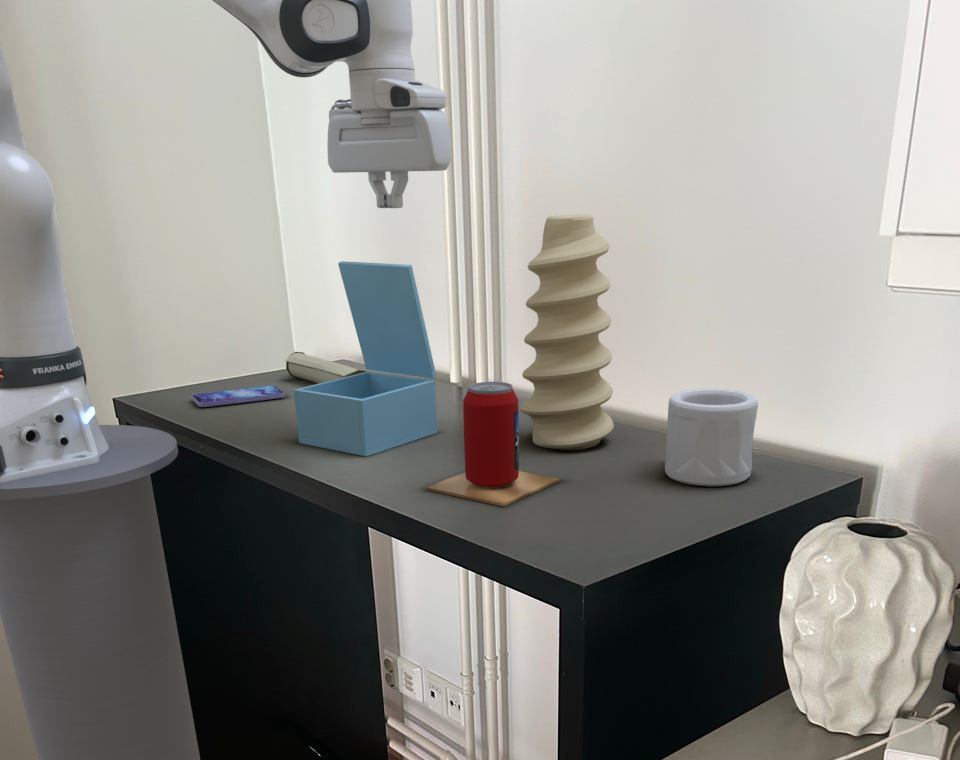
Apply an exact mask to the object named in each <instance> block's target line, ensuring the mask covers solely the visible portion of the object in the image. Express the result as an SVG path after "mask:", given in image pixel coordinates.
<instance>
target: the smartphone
mask: <svg viewBox="0 0 960 760" xmlns="http://www.w3.org/2000/svg"><path fill="white" fill-rule="evenodd" d="M284 397H285V392H284V391H283V390H282V389H280V388H279V387H277V386H276V385H274V384H273V385H270V384H269V385H261V386H253V387H244V388H233V389H227V390H218V391H210V392H200V393H194V394H192V395H191V400H192V401H193V402H194V403H195V405H197V406H198V407H200V408H208V407H216V406H224V405H225V406H226V405H234V404H240V403H241V404H242V403H250V402H251V403H252V402H259V401H266V400H274V399H275V400H276V399H282V398H284Z"/></svg>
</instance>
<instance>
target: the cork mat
mask: <svg viewBox="0 0 960 760" xmlns="http://www.w3.org/2000/svg"><path fill="white" fill-rule="evenodd" d="M560 481H561V478H557V477H552V476H547V475H542V474H537V473H532V472H526V471H521V470H519V476H518V478H517V479H516V480H515V481H513V482H512V483H511V484H510V485H508V486H505V487H500V488H482V487H478V486H475V485H474V484H473V483H471V482H470V481H468V480H467V479H466V476H465V471H464V472H462V473H459V474H457V475H454V476H451V477H449V478H446V479H444V480H441V481H438V482H436V483H433V484H431V485H429V486H426V491H429V492H434V493H439V494H444V495H448V496H453V497H457V498H462V499H467V500H471V501H475V502H479V503H485V504H489V505H494V506H499V507H503V508H504V507H507V506H509V505H510V504H514V503H515V502H518V501H519V500H522V499H524V498H526V497H528V496H531V495H533V494H535V493H537V492H540V491H542V490H544V489H546V488H549V487H551V486H553V485H555V484H557V483H561V482H560Z"/></svg>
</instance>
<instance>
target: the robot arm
mask: <svg viewBox="0 0 960 760" xmlns="http://www.w3.org/2000/svg"><path fill="white" fill-rule="evenodd" d="M212 1H213V2H214V3H215V4H216V5H218V6H219V7H221V9H223V10H224V11H226V12H227V13H229V14H230V15H231V16H233V17H234V18H235V19H236V20H237V21H239V22H241V24H243V25H244V26H246V27H247V29H249V31H251V33H252V34H253V35H254V36H255V38H257V40H258V41H259V43H260V45H262V48H263V49H264V50H265V52H266V54H267V55H268V56H269V58H270V59H271V60H272V62H273V63H274V64H275V65H276V66H277V67H278V68H279V69H280V70H281V71H283V72H284V73H286V74H288V75H290V76H292V77H296V78H311V77H315V76H317V75H319V74H321V73H323V72H324V71H325V70H326V69H327V68H328V67H330V66H332V65H333V64H334V63H336V62H338V63H339V62H341V63H345V64H346V65H347V68H348V69H347V70H348V79H349V81H348V82H349V91H350V92H349V94H350V98H349V99H337V100H335V102H334V104H333V105H332V106H331V107H330V109H329V111H328V121H329V122H328V126H327V144H326V145H327V164H328V167H329V168H330V170H331V172H332V173H336V174H338V173H339V174H341V173H367V174H368V183H369V184H370V185H369V186H371V189H372V190H373V192H374V194H375V197H376V207H377V208H378V209H402V208H403V206H404V197H403V195H404V194H405V190H406V187H407V185H408V182H409V172H441V171H447V169H448V168H449V166H450V163H451V161H452V141H451V132H450V131H451V130H450V123H449V118H448V116H447V114H446V113H445V111H443V110H442V109H445V108H446V106H447V93H446V92H445V91H444V90H443V89H442V88H441V89H440V88H438V87H435V86H432V85H429V84H427V83H425V82H422V81H420V80H417V79H416V68H415V64H414V59H413V55H412V40H413V35H414V25H413V9H412V3H411V2H412V0H212ZM16 101H17V100H16V96H15V90H14V83H13V80H12V77H11V74H10V70H9V67H8V64H7V60H6V57H5V54H4V51H3V47H2V44H1V43H0V483H3V482H8V481H13V480H18V479H23V478H27V477H32V476H37V475H42V474H47V473H52V472H56V471H61V470H66V469H71V468H76V467H81V466H85V465H90V464H95V463H97V462H99V461H100V456H101V455H102V454H104V453H105V452H107V451H108V449H109V445H108V443H107V442H106V440H105V438H104V436H103V434H102V432H101V429H100V427H99V425H100V424H99V422H98V420H97V418H96V417H97V416H96V411H95V407H94V406H93V405H92V403H91V400H90V399H91V398H90V396H89V393H88V389H87V373H86V368H85V364H84V359H83V354H82V350H81V348H80V347H79V346H78V345H77V341H76V336H75V332H74V331H75V330H74V326H73V320H72V316H71V311H70V306H69V300H68V295H67V289H66V283H65V275H64V261H63V253H62V252H63V251H62V244H61V243H62V242H61V236H60V234H61V233H60V227H59V219H58V212H57V206H56V205H57V204H56V201H55V200H56V199H55V191H54V187H53V184H52V181H51V180H50V179H51V178H50V177H49V175H48V173H47V171H46V170H45V168H44V167H43V166H42V165H41V164H40V162H39V161H38V160H37V158H35V157H34V156H32V155H31V154H29V152H28V148H27V144H26V141H25V137H24V134H23V128H22V124H21V120H20V116H19V111H18V106H17V102H16ZM386 172H387V173H390V181H392V182H393V184H392V187H391V191H390V193H389V191H387V188H386V185H385V181H386V180H387V175H386V174H387V173H386Z"/></svg>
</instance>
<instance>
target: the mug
mask: <svg viewBox="0 0 960 760" xmlns="http://www.w3.org/2000/svg"><path fill="white" fill-rule="evenodd" d="M758 406H759V402H758V399H757V397H755V395H753V394H750V393H748V392H746V391H745V392H744V391H741V390H736V389H729V388H728V389H727V388H693V389H685V390H682V391H678V392H676V393H674V394H672V395H671V396H670V397H669V399H668V407H667V425H666V451H665V462H664V473H665V474H666V475H667V476H668V477H669V478H670V479H671V480H673V481H674V482H675V481H676V482H678V483H681V484H686V485H691V486H700V487H723V486H725V487H726V486H732V485H736V484H740V483H743V482H744V481H746V480H747V479H748V478H750V476H751V474H752V468H753V442H754V433H755V427H756V421H757V415H758V408H759V407H758Z"/></svg>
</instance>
